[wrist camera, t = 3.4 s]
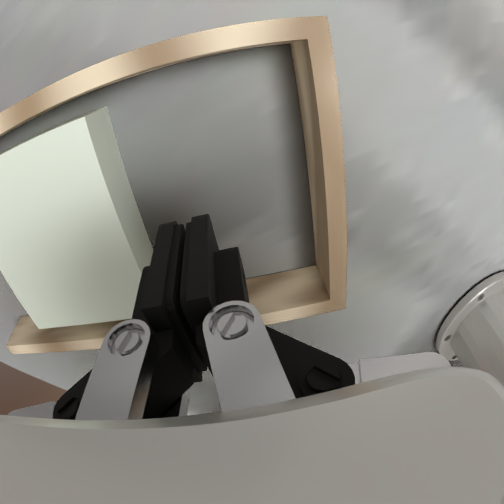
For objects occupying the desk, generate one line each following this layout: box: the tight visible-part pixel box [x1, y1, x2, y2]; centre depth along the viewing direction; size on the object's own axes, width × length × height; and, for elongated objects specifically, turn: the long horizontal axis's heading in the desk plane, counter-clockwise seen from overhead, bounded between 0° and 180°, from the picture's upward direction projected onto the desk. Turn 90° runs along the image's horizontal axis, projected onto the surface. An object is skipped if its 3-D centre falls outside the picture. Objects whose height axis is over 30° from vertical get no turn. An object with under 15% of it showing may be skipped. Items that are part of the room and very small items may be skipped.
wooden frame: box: [0, 16, 347, 354], centre depth 16 cm, size 26×16×4 cm, turn 100°
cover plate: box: [0, 106, 153, 329], centre depth 17 cm, size 10×12×4 cm
